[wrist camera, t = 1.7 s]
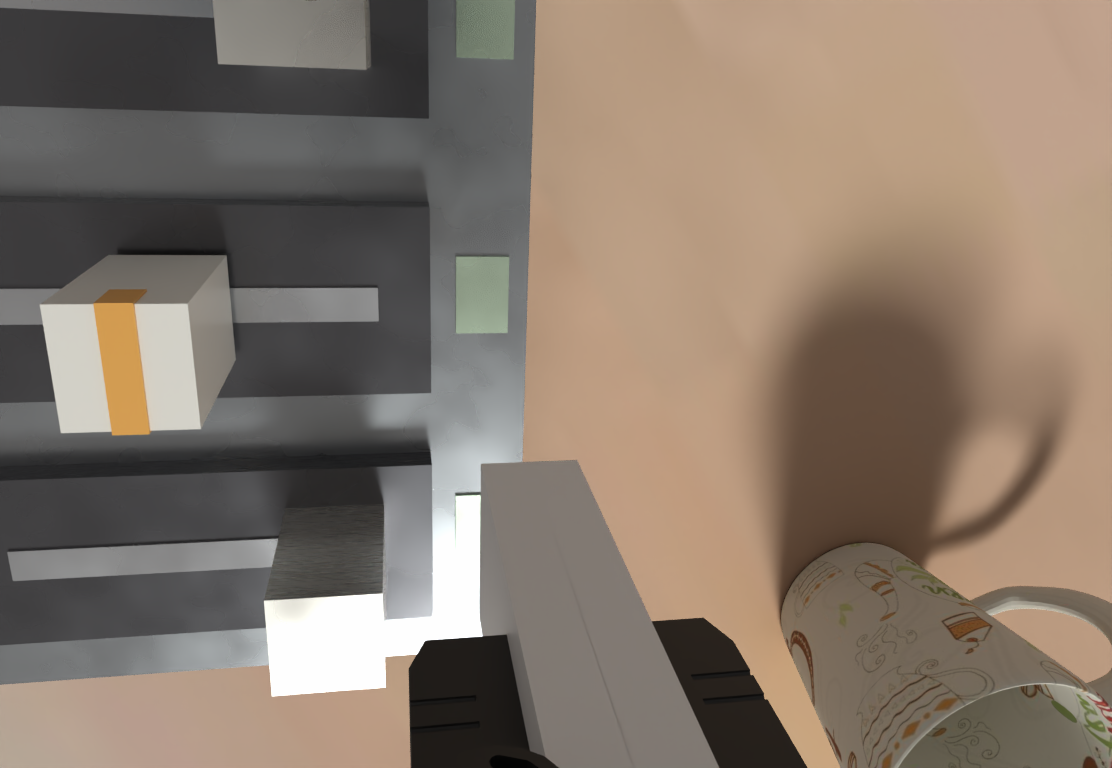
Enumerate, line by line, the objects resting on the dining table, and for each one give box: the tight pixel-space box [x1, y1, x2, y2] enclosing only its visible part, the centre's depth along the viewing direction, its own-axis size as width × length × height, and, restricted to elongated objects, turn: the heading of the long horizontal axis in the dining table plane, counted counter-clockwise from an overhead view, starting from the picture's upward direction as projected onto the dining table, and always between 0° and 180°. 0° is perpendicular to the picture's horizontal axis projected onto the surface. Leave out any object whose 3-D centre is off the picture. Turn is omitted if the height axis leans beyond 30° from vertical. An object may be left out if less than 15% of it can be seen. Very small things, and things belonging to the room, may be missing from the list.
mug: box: [781, 543, 1112, 768], centre depth 32 cm, size 8×13×10 cm, turn 106°
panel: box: [0, 0, 536, 696], centre depth 24 cm, size 26×20×8 cm
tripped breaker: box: [40, 255, 236, 435], centre depth 22 cm, size 3×3×5 cm
